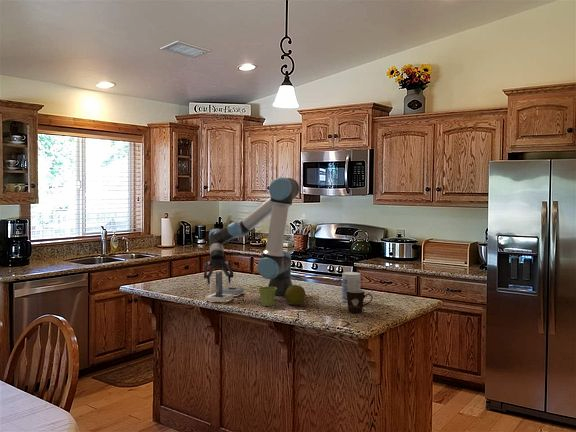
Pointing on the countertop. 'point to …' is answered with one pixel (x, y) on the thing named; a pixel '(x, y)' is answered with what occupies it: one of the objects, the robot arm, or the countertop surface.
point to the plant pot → (267, 295)
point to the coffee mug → (356, 300)
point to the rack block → (223, 298)
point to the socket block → (233, 290)
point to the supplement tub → (350, 283)
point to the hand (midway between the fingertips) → (219, 288)
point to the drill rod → (218, 284)
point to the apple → (295, 295)
